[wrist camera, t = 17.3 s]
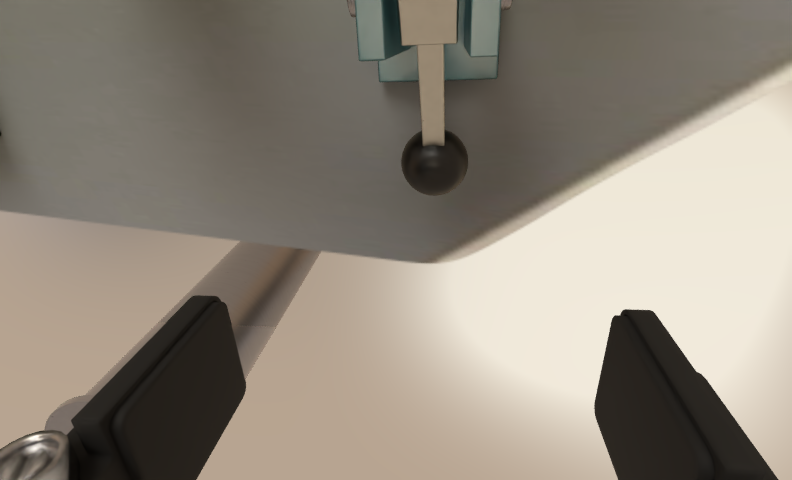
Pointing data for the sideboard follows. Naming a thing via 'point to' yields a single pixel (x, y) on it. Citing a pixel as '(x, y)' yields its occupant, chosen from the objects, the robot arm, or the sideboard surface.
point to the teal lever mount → (462, 60)
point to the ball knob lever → (431, 97)
